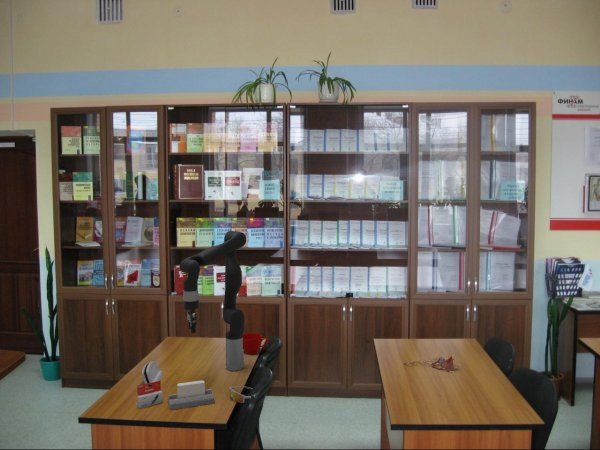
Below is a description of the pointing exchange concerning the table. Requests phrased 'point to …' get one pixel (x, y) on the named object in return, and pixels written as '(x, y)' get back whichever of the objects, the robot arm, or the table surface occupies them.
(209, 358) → the table surface
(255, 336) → the ceramic cup
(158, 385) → the ink cartridge box
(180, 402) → the track
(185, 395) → the door panel
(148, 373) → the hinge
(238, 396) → the sunglasses
